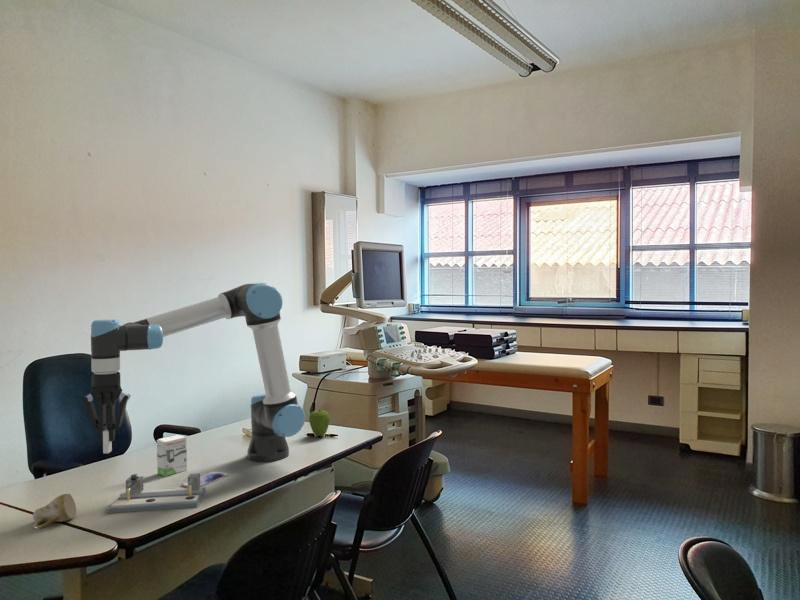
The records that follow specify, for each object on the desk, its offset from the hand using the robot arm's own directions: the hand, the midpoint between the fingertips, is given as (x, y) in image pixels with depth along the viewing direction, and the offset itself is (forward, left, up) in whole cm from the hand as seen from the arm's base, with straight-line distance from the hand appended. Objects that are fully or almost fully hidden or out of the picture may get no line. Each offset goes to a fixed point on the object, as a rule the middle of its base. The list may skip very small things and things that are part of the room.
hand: (107, 451), depth 170 cm
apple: (-62, -63, -15) cm, 89 cm away
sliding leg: (-7, +2, -13) cm, 15 cm away
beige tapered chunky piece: (+10, +12, -15) cm, 22 cm away
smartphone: (-25, -15, -16) cm, 33 cm away
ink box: (-12, -26, -15) cm, 32 cm away
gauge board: (-15, +2, -15) cm, 21 cm away
